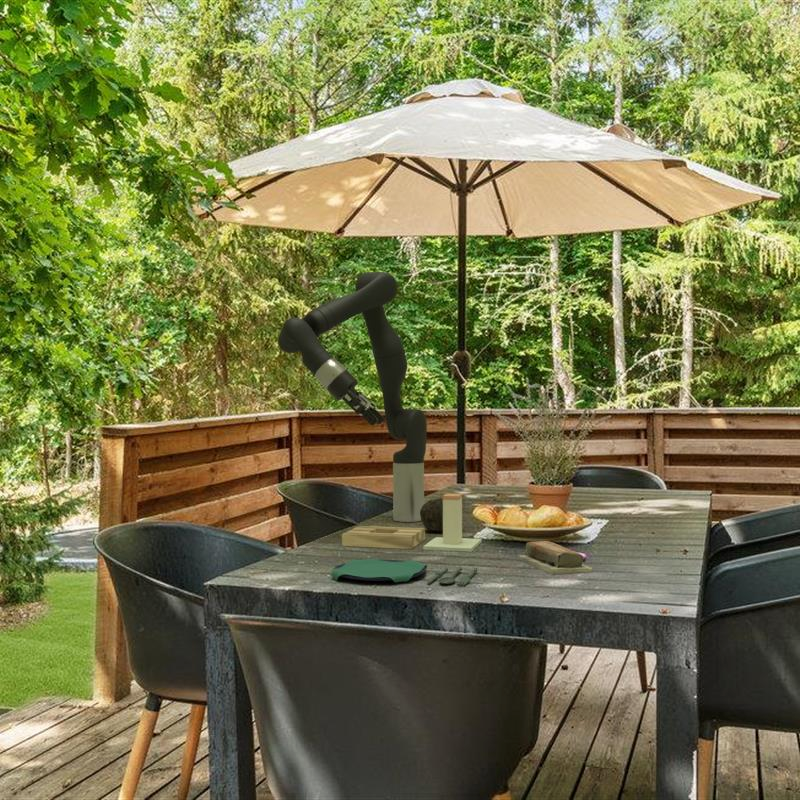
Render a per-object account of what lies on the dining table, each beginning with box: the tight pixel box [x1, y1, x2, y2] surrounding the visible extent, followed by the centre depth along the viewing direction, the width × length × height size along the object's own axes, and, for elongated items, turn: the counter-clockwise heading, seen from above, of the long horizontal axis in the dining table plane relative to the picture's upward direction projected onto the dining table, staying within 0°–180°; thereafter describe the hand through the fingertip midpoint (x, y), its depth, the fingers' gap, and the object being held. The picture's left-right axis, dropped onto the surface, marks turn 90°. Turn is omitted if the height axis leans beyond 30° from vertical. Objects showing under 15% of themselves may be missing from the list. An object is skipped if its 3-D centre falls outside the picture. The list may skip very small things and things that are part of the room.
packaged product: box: [518, 540, 594, 575], centre depth 206 cm, size 18×5×10 cm
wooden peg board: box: [341, 525, 426, 550], centre depth 236 cm, size 14×18×3 cm
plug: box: [442, 493, 463, 545], centre depth 231 cm, size 5×4×12 cm
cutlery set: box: [331, 558, 478, 586], centre depth 194 cm, size 20×30×2 cm, turn 73°
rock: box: [420, 497, 443, 533], centre depth 254 cm, size 10×11×10 cm
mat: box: [422, 536, 482, 553], centre depth 231 cm, size 14×12×1 cm
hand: (378, 422), depth 240 cm, fingers open, 8 cm apart
